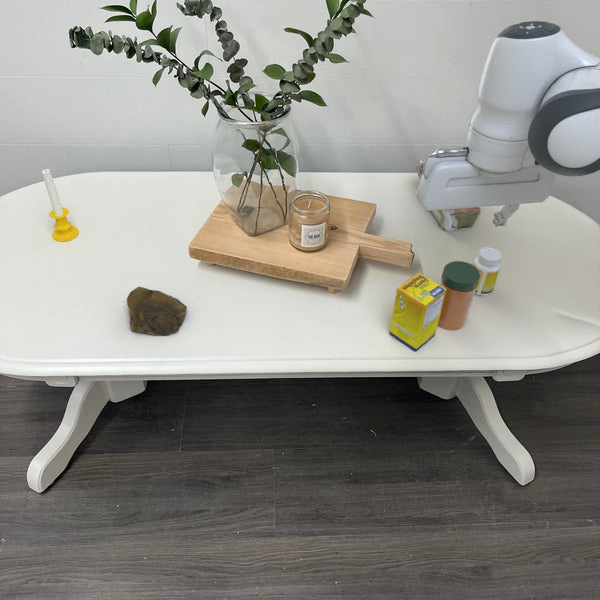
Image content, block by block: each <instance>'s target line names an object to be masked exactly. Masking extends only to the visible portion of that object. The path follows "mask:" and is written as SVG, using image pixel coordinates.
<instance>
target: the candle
mask: <svg viewBox="0 0 600 600" xmlns="http://www.w3.org/2000/svg"><path fill="white" fill-rule="evenodd" d="M41 173H42V177H43V182H44V185H45V187H46V191H47V193H48V198H49V200H50V205H51V207H52V209H51V211H49V213H48V216H49V217H50V218H51V219H55V225H54V228H55V229H54V230H53V231H52V233H51V237H52V238H53V240H54V241H56V242H60V243H62V242H63V243H65V242H70V241H72V240H74V239H76V238H77V237H78V235H79V234H80V233H79V228H78V227H76V226H75V225H72V222H71V221H70V220H68V218H67V216H68V215H69V214H70V210H69V209H68V208H67V207H62V204H61V200H60V197H59V193H58V190H57V188H56V184H55V181H54V178H53V174H52V172H51V169H50V168H44V169H43V170H42V172H41Z"/></svg>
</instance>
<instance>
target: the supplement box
mask: <svg viewBox="0 0 600 600" xmlns="http://www.w3.org/2000/svg"><path fill="white" fill-rule="evenodd" d="M445 294H446V288H444V287H442V286H441V285H440V283H437V282H436V281H434V280H432V279H430V278H429V277H427V276H425V275H424V274H422V273H420V272H417V273H416V274H415V275H413V276H412V277H410V278H409V279H408V280H406V281H405V282H403V283H402V284H401V285H399V286H398V287H397V288H396V294H395V300H394V306H393V311H392V317H391V321H390V328H389V335H390V336H391V337H392V338H394V339H396V340H397V341H398V342H400V343H401V344H403V345H405V346H406V347H407V348H409V349H410V350H412V351H413V352H417V351H418V350H420V349H421V348H422V347H423V346H424V345H426V344H427V343H429V341H430V340H431V339H432V338H434V337H435V336H436V333H437V329H438V321H439V317H440V314H441V310H442V306H443V302H444V298H445Z"/></svg>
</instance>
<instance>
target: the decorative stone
mask: <svg viewBox="0 0 600 600" xmlns="http://www.w3.org/2000/svg"><path fill="white" fill-rule="evenodd" d="M126 306H127V307H128V310H129V317H130V319H129V327H130V331H132V332H136V333H143V334H147V335H149V336H160V337H161V336H169V335H171V334H172V333H174V332H178V331H179V329H180V327H181V326H182V324H183V323H184V320H185V319H186V315H187V309H188V306H186V304H184V303H183V302H181V300H179V299H178V298H176V297H174V296H172V295H170V294H167V293H164V292H163V291H160V290H155V289H149V288H147V287H143V286H137V287H135V288H134V289H132V290H131V291H130V292H129V294H128V296H127V298H126Z"/></svg>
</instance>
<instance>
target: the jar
mask: <svg viewBox="0 0 600 600" xmlns="http://www.w3.org/2000/svg"><path fill="white" fill-rule="evenodd" d="M439 285H441V286H442V287H444V288H446V294H445V298H444V302H443V306H442V310H441V314H440V317H439V321H438V325H437V327H440V328H441V329H443V330H448V331H457V330H460V329H462V328H463V327H465V325H466V323H467V319H468V317H469V313H470V311H471V307H472V304H473V300H474V296H475V295H476V294H475V291H476V288H477V287H476V288H474V289H473V290H470V291H457V290H454V289H451V288H449V287H448V286H447V285H445V284H444V282H443V280H442V277H441V278H440V283H439Z"/></svg>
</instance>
